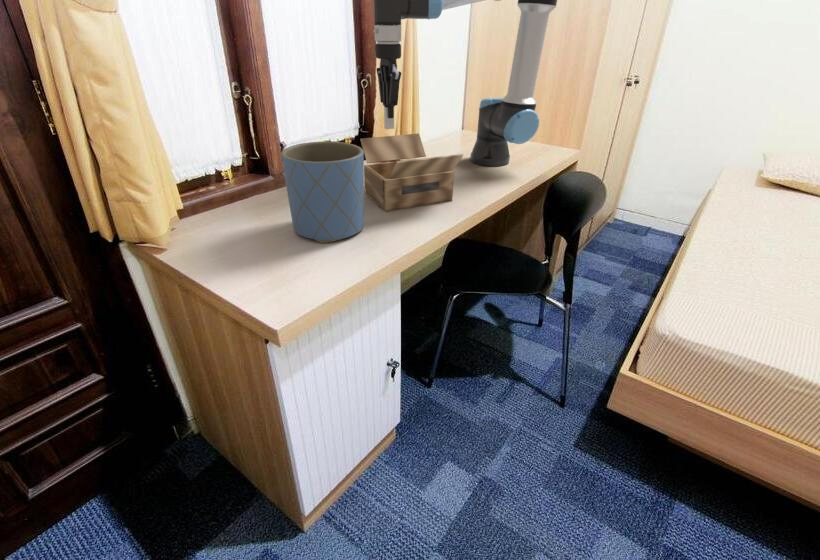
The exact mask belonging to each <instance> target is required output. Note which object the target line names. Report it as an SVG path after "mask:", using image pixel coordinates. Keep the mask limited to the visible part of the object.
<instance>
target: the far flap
mask: <svg viewBox="0 0 820 560" xmlns="http://www.w3.org/2000/svg"><path fill="white" fill-rule="evenodd" d="M359 139H360V144H361V148H362V149H363V153H364V158H365V160H366V161H365V162H366V164H377V163H385V162H394V161H403V160H412V159H420V158H427V155H426V151H425V148H424V145H423V142H422V139H421V135H420V133H419V132H418V133H410V134H409V133H407V134H399V135H398V134H397V135H387V136H377V137H376V136H374V137H364V138H359Z"/></svg>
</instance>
